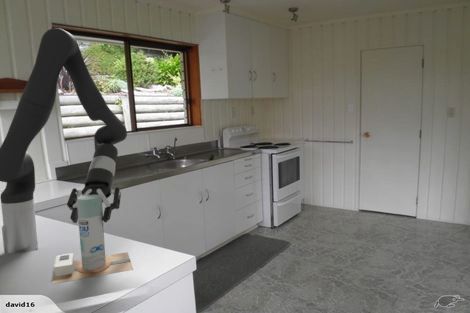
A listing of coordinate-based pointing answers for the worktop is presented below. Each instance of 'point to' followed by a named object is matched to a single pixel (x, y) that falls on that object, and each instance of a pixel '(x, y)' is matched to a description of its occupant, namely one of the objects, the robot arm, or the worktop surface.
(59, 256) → the block
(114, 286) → the worktop surface
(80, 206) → the spray paint can
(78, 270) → the plywood panel
